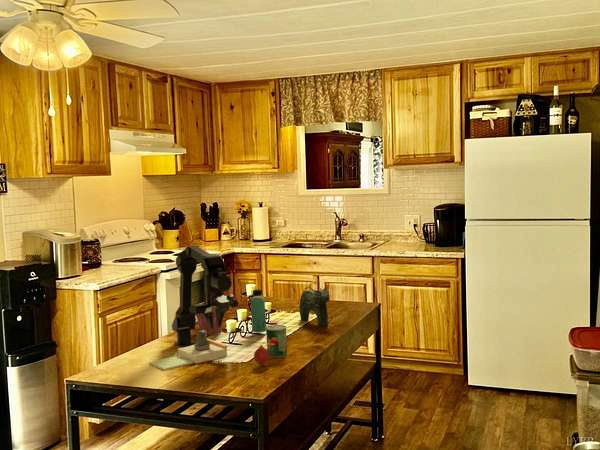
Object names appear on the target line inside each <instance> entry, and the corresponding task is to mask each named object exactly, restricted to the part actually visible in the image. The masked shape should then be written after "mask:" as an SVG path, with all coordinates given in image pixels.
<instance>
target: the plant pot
mask: <svg viewBox="0 0 600 450" xmlns="http://www.w3.org/2000/svg"><path fill="white" fill-rule="evenodd" d="M200 304H203V305H207V304H205V302H201V303H200ZM210 307H211V306H210ZM211 310H212V312H214V313H213V316H212V317H213V329H211V328H210V326H209V324H208V322H207V320H206V318H205V317H204V315H203V313H201V314H195V317H196V321H197V323H198V327H199V330H206V331H207V336H216V335H219V334H221V333H222V331H223V330H222V329H223V324H224V319H225V315H224V316H223V319H222V322H221V326H220V327H218V326H217V319H216V311H215V308H213V309H211ZM226 312H227V311H226ZM226 312H225V314H226Z"/></svg>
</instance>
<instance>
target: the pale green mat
mask: <svg viewBox="0 0 600 450" xmlns="http://www.w3.org/2000/svg"><path fill="white" fill-rule="evenodd" d="M148 364H149V365H151V366H153V367H156V368H159V369H160V370H161V371H167V370H171V369H175V368H180V367H184V366H189V365H191V364H193V362H191V361H189V360H186V359H184V358H182V357H179V356H178V355H174V356H171V357H170V356H169V357H166V358H162V359H161V358H160V359H158V360H152V361H149V363H148Z"/></svg>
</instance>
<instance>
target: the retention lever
mask: <svg viewBox="0 0 600 450" xmlns="http://www.w3.org/2000/svg"><path fill="white" fill-rule="evenodd" d="M207 343H209V344H212V345H215V346H217V347H220V348H223V349H228V345H227V344H224V343H221V342H219V341H215V340H213V339H209V338H207Z"/></svg>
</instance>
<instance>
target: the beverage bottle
mask: <svg viewBox="0 0 600 450" xmlns="http://www.w3.org/2000/svg"><path fill="white" fill-rule="evenodd" d="M261 295H263V291H262V289H259V288H258V289H253V290H252V296H254V297H252V298H250V309H251V310H250V311H251V312H250V313H251V314H250V315H251V316H250V318H251V330H252V332H253V333H256V334H257V333H264V332H266V327H267V318H266V316H267V315H266V301H265V298H264V297H262V296H261Z"/></svg>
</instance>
